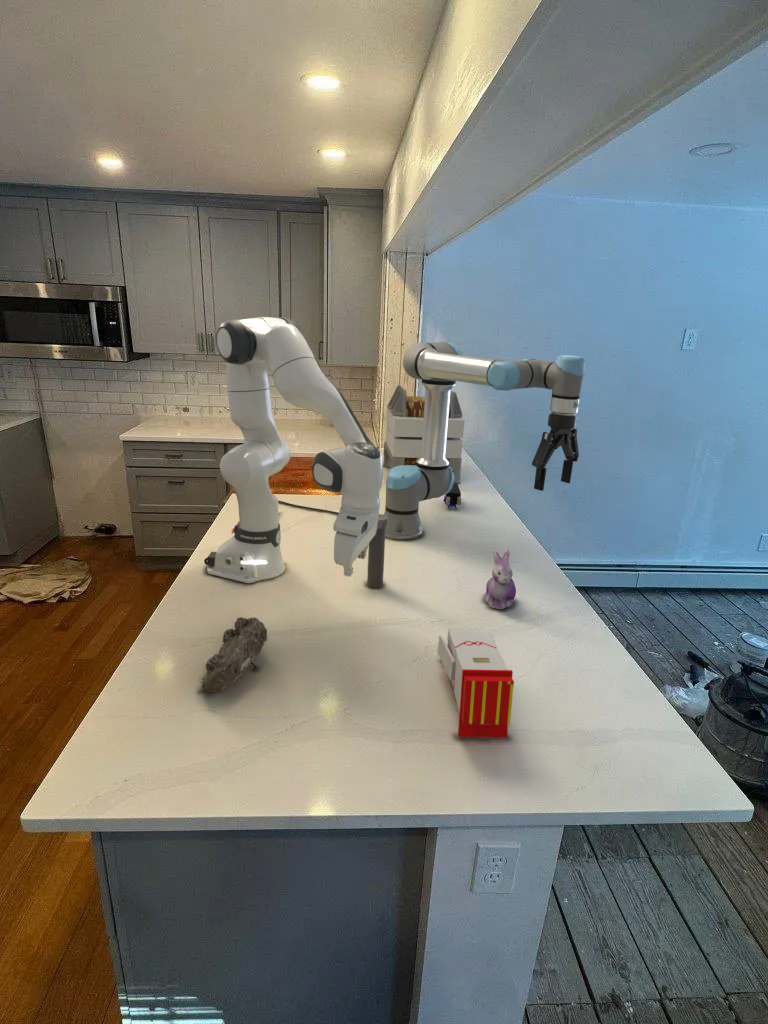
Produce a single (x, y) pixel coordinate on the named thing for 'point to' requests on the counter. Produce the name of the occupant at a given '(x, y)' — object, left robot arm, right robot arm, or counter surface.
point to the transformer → (419, 431)
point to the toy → (478, 682)
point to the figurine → (501, 583)
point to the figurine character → (453, 497)
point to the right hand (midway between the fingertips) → (552, 485)
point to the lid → (382, 521)
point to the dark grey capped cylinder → (376, 559)
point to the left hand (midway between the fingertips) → (355, 565)
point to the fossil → (234, 654)
